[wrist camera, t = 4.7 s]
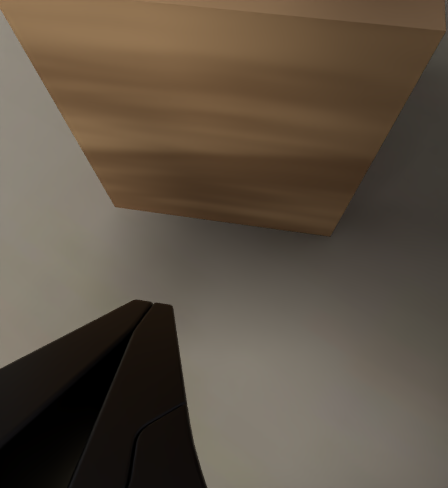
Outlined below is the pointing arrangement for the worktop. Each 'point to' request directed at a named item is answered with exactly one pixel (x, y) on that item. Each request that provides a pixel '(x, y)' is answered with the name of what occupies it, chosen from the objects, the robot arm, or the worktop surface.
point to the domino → (230, 97)
